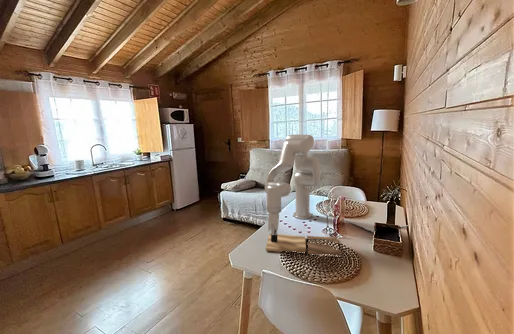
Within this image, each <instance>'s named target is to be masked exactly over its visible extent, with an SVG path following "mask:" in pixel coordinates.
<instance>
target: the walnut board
mask: <svg viewBox="0 0 514 334" xmlns="http://www.w3.org/2000/svg"><path fill="white" fill-rule="evenodd" d="M307 239H325V240H329V241H333V242H336V243H338V244H339V240H338V238H337V237H333V236H317V235H307V236H306V240H307ZM306 245H308V248H307V255H308V254H330V255H331V254H334V255H336V254H337V255H340V253H342V251H341V249H340V250H338V249H337V250H336V249H335V248H334V249H333V247H330V246H328V245H322V244H321V245H320V244H314V243H313V242H312V243H310V242H309V243H308V242H307V241H306Z"/></svg>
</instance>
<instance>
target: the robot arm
mask: <svg viewBox="0 0 514 334" xmlns="http://www.w3.org/2000/svg"><path fill="white" fill-rule="evenodd" d="M314 143H315V140H314V137H313V136H312V135H311V134H289V135H287V136H286V137H285V141H284V142H283V144H282V146H281V151H280V155H279V159H278V163H277V164H276V165H274V167H273V168H272V169H271V170H270V171H269V172H268V174H267V176H266V180H265V182H264V183H265V185H264V191H265V193H266V212H267V213H268V216H267V217H268V221H267V224H268V225H267V230H268V232H271V233H270V234H271V242H277V234H278V230H279V224H280V213H281V212H282V198H284V197H288V196H289V195H290V194H291V191H292V186H291V185H290V184H289V183H287V182H282V181H274V180H275V178H276V177H277V176H278V175H280V174H282V173H284V172H287V171H289V170H291V169H293V168H294V167H295V169H296V173H295V174H294V175H293V176H294V177H293V178H294V185H295V187H294V188H295V212H293V214H292V215H293V217H294V218H296V219H300V220H308V219H310V218H312V213H311V212H310V200H311V199H310V196H311V195H310V193H311V192H310V189H309V188H308V187H316V188H317V187H319V186H320V184H321V166H320V165H321V164H320V160H319V158H318V157H315V156H314V157H312V156H311V157H310V156H308V153H309V151H311V150H312V148H313V147H314Z"/></svg>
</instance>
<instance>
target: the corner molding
mask: <svg viewBox="0 0 514 334" xmlns="http://www.w3.org/2000/svg"><path fill="white" fill-rule="evenodd" d="M343 221H345V222H347V223H350V224H352V225H355V226H358V227H360V228H363V229H364V230H366V231H370V232H371V233H375V231H374V224H375V223H371V222H370V223H368V222H362V221H355V220H351V219H348V218H344V220H343ZM399 226H400V227H401V228H406V227H409V226H410V225H409V224H407V225H405V224H404V225H403V224H402V225H399Z"/></svg>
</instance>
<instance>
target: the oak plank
mask: <svg viewBox="0 0 514 334" xmlns="http://www.w3.org/2000/svg"><path fill="white" fill-rule="evenodd" d="M306 245H307V241H306V236H302V235H291V234H289V235H288V234H279V233H277V242H271V233H269V235H268V239H267V242H266V247H265V251H268V252H277V253H278V252H279V253H280V252H281V253H283V252H282V251H296V252H306V253H307V246H306Z"/></svg>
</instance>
